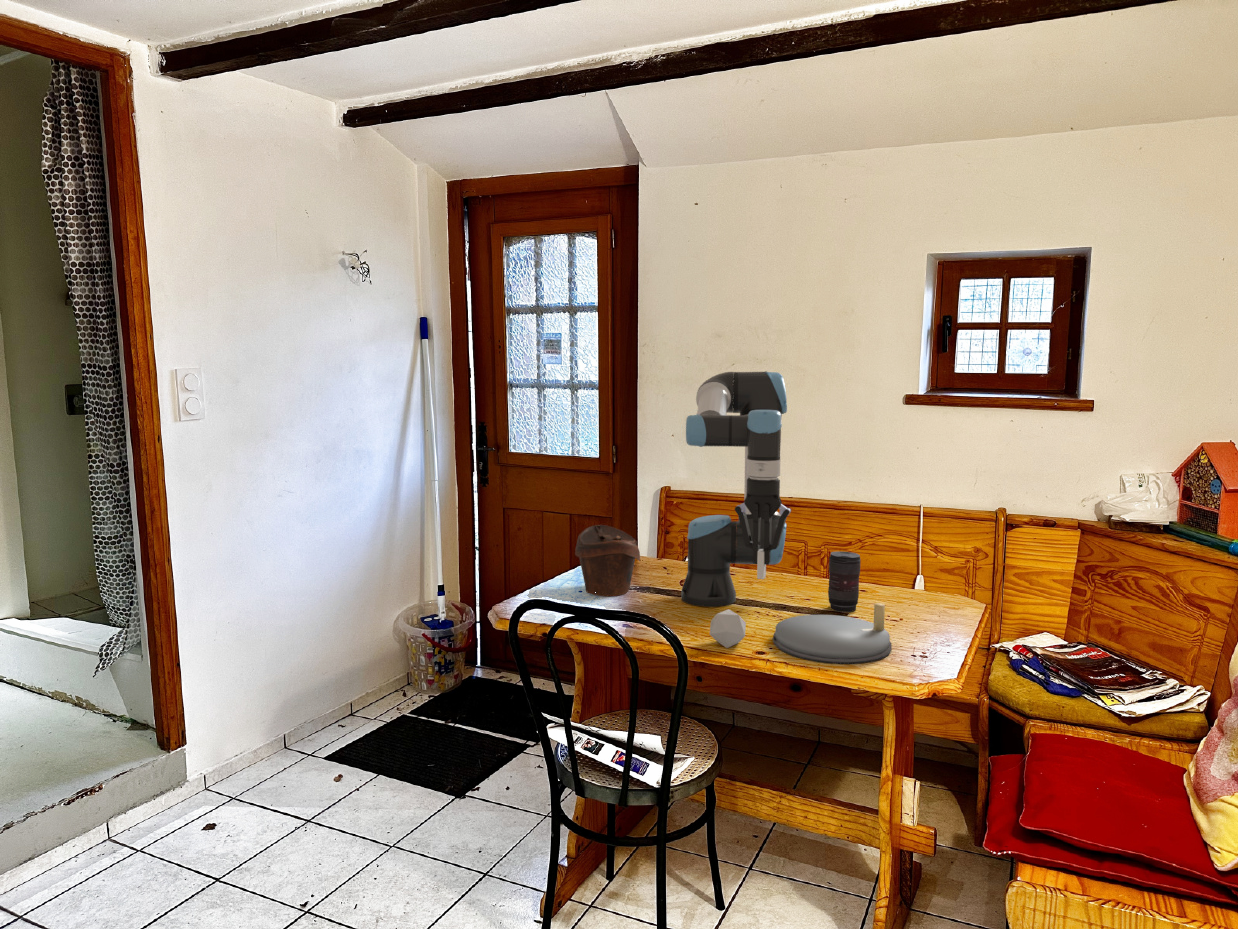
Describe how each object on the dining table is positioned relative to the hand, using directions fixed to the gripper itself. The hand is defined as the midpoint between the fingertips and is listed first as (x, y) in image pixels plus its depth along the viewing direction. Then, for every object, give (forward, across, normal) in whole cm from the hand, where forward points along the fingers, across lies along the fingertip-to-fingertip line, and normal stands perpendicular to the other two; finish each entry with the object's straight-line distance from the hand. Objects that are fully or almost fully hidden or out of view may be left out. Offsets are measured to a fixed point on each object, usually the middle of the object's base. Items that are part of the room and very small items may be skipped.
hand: (761, 577), depth 199 cm
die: (+16, -7, -3) cm, 18 cm away
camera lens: (+17, +15, +36) cm, 42 cm away
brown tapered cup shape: (+17, -50, +30) cm, 61 cm away
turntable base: (+16, +16, +6) cm, 23 cm away
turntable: (+15, +16, +6) cm, 22 cm away
